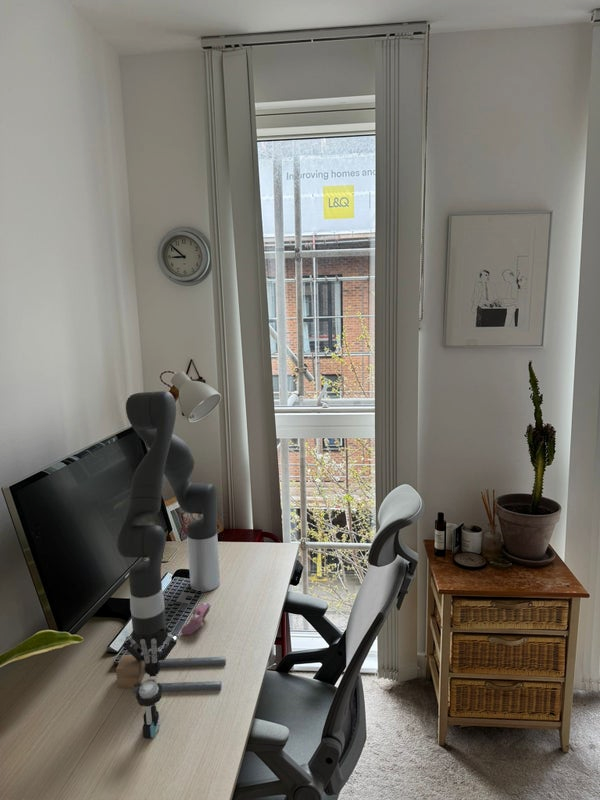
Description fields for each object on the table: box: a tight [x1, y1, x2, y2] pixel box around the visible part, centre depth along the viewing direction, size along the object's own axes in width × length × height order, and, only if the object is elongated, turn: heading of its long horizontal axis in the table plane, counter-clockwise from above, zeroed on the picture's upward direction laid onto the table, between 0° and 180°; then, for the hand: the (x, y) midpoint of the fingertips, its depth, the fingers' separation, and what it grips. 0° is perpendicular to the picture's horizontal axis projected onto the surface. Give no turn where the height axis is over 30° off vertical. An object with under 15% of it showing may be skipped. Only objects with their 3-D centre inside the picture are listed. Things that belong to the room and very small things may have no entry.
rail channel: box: [132, 656, 227, 694], centre depth 127 cm, size 10×20×2 cm, turn 91°
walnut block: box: [115, 653, 146, 689], centre depth 126 cm, size 5×5×5 cm
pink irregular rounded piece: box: [180, 602, 212, 636], centre depth 146 cm, size 10×5×7 cm, turn 169°
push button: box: [134, 680, 163, 739], centre depth 111 cm, size 7×5×10 cm
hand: (153, 674), depth 126 cm, fingers closed
